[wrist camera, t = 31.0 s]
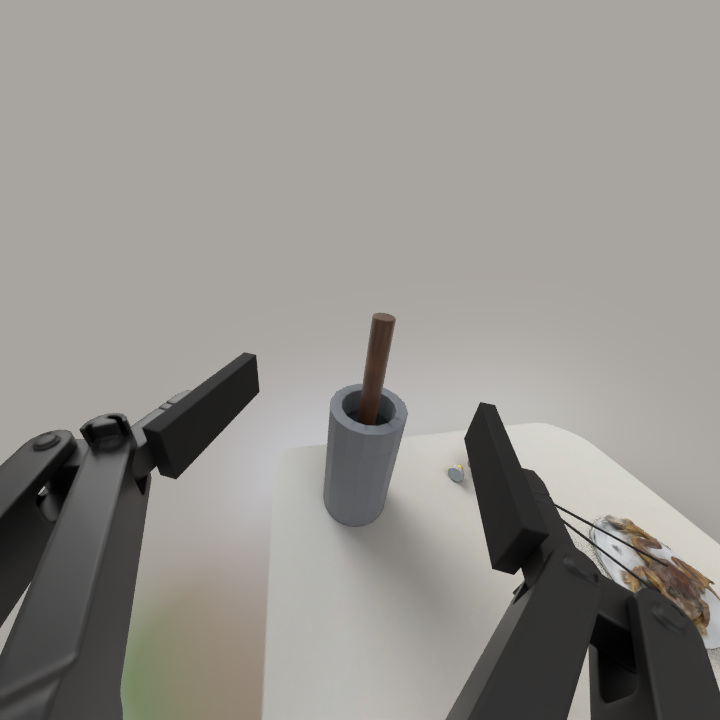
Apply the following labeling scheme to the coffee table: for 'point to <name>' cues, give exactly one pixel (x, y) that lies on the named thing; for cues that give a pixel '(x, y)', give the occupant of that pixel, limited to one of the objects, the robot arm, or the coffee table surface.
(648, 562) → the frog figurine
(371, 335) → the long brown dowel rod
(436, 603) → the coffee table surface
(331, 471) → the cylindrical container
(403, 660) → the coffee table surface
